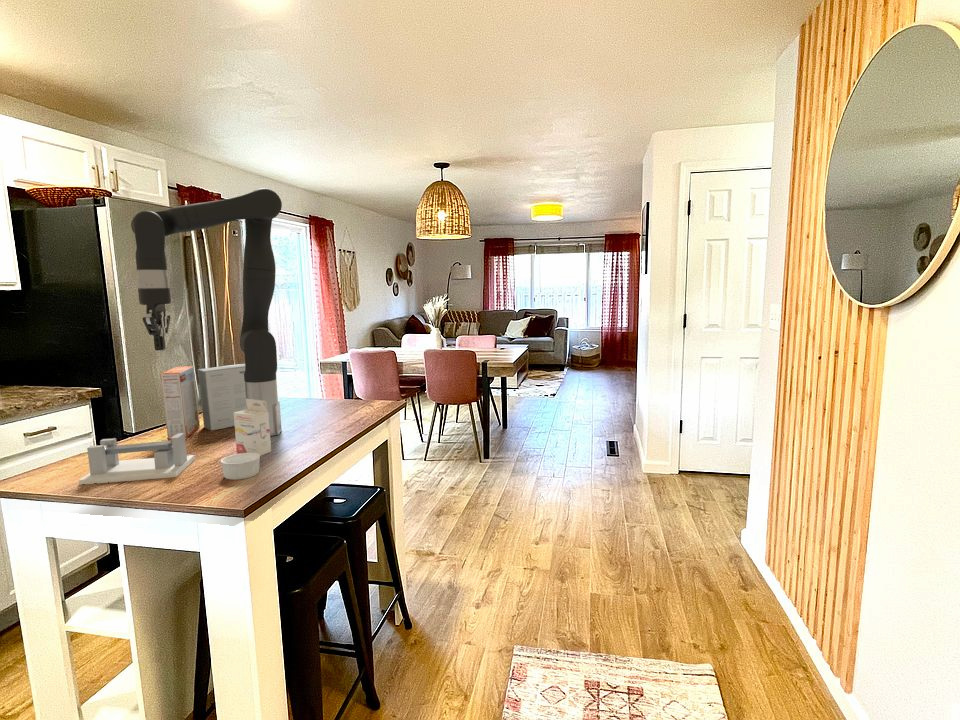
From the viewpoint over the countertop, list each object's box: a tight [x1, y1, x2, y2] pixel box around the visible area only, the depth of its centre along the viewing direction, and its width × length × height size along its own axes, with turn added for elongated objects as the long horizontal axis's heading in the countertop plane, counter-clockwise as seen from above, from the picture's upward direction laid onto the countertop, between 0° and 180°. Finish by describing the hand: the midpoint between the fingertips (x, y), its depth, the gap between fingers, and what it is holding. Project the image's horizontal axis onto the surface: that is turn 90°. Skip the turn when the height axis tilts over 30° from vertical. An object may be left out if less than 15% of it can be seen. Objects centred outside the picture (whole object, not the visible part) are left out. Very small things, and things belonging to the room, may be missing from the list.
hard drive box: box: [197, 363, 247, 432], centre depth 177 cm, size 16×8×20 cm, turn 133°
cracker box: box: [159, 365, 201, 441], centre depth 167 cm, size 14×6×21 cm, turn 13°
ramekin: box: [220, 453, 261, 481], centre depth 129 cm, size 9×9×4 cm
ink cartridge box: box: [234, 399, 272, 457], centre depth 145 cm, size 9×5×15 cm, turn 65°
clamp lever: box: [104, 440, 173, 455], centre depth 132 cm, size 17×4×2 cm, turn 101°
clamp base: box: [78, 433, 196, 486], centre depth 132 cm, size 21×14×9 cm, turn 101°
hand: (160, 350), depth 145 cm, fingers closed
